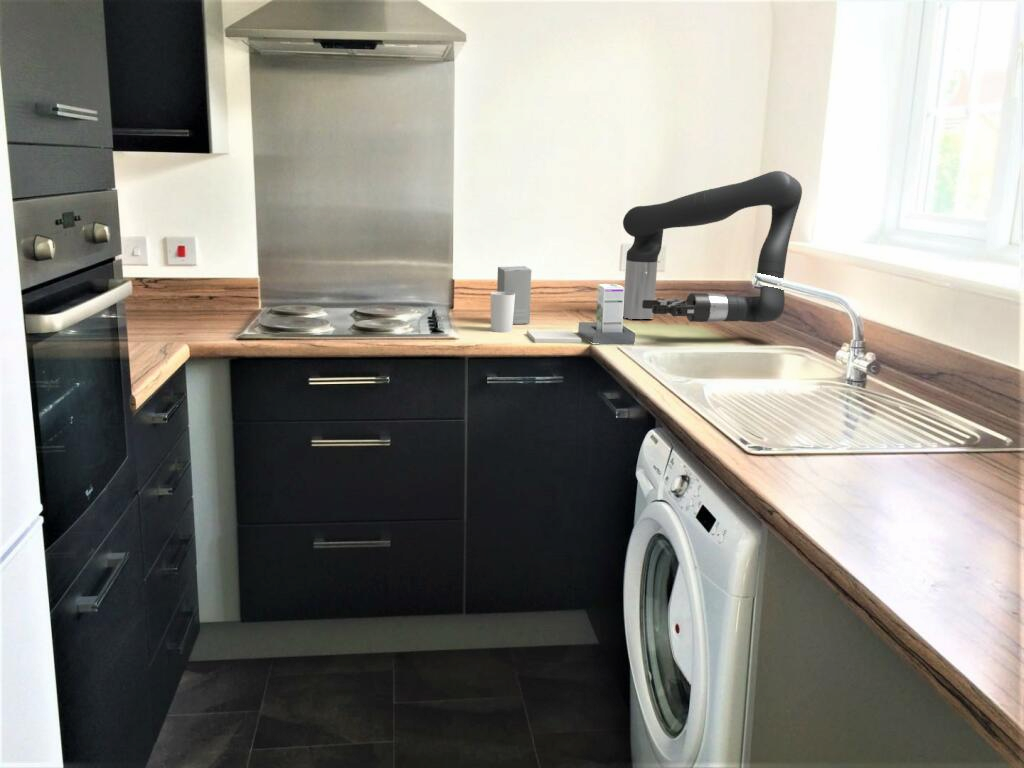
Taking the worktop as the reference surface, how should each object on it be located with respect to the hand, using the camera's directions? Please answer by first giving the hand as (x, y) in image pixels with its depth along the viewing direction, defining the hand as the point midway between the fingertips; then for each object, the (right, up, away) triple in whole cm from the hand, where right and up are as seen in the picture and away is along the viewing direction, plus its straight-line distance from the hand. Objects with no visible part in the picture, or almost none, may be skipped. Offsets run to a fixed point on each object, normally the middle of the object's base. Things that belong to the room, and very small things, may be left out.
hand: (647, 306), depth 243 cm
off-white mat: (-24, -8, +1) cm, 26 cm away
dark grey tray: (-11, -8, +3) cm, 14 cm away
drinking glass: (-38, -6, +9) cm, 40 cm away
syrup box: (-10, -9, +1) cm, 14 cm away
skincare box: (-35, -3, +21) cm, 41 cm away
